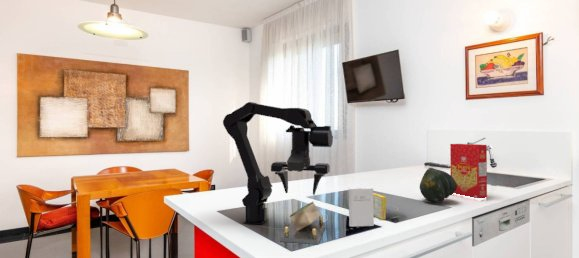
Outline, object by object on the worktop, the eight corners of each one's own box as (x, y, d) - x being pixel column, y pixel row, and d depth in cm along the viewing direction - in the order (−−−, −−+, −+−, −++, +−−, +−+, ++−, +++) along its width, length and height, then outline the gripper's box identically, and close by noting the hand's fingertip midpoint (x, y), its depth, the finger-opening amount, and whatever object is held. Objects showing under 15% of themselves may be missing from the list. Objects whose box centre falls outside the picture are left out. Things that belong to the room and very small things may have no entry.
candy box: (386, 220, 116) (386, 196, 116) (381, 220, 116) (381, 197, 116) (365, 209, 132) (365, 188, 132) (360, 209, 131) (360, 189, 131)
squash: (413, 202, 143) (413, 168, 143) (429, 197, 153) (429, 165, 153) (447, 208, 132) (446, 171, 132) (461, 202, 142) (461, 168, 142)
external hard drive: (348, 225, 110) (348, 188, 110) (372, 224, 110) (372, 187, 110) (350, 226, 108) (349, 189, 108) (374, 225, 109) (373, 188, 109)
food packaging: (450, 195, 158) (450, 143, 158) (458, 194, 160) (458, 143, 160) (478, 201, 145) (478, 145, 145) (486, 200, 147) (486, 144, 147)
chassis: (280, 241, 94) (280, 228, 94) (293, 223, 111) (293, 213, 111) (318, 244, 91) (318, 231, 91) (326, 225, 109) (325, 214, 109)
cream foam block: (297, 230, 100) (289, 216, 101) (308, 221, 110) (300, 208, 111) (310, 223, 98) (302, 208, 99) (320, 214, 109) (312, 201, 110)
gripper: (265, 147, 102) (265, 196, 102) (324, 148, 97) (324, 200, 97) (276, 145, 113) (275, 190, 113) (330, 146, 108) (329, 193, 108)
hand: (300, 193), depth 107 cm, fingers open, 9 cm apart
